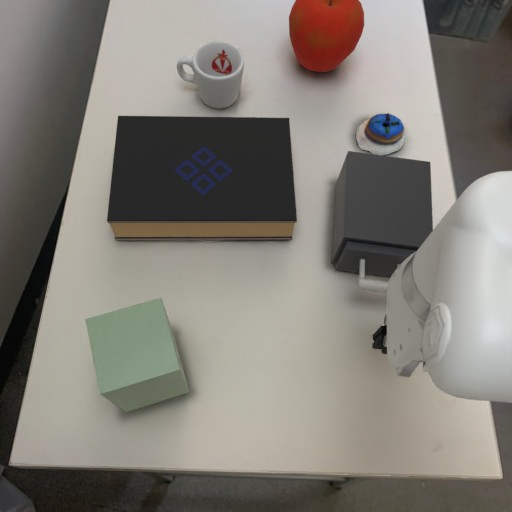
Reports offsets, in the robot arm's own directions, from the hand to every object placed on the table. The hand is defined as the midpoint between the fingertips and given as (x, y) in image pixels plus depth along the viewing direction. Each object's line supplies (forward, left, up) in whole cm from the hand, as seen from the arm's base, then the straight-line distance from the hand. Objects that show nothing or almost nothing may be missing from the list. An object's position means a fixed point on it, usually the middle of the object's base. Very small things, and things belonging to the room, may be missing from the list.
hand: (384, 343), depth 59 cm
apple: (+51, -12, -8) cm, 53 cm away
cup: (+49, +8, -8) cm, 50 cm away
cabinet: (+18, -8, -7) cm, 21 cm away
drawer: (+14, -7, -6) cm, 17 cm away
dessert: (+33, -16, -8) cm, 37 cm away
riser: (+7, +28, -7) cm, 29 cm away
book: (+31, +14, -8) cm, 35 cm away
